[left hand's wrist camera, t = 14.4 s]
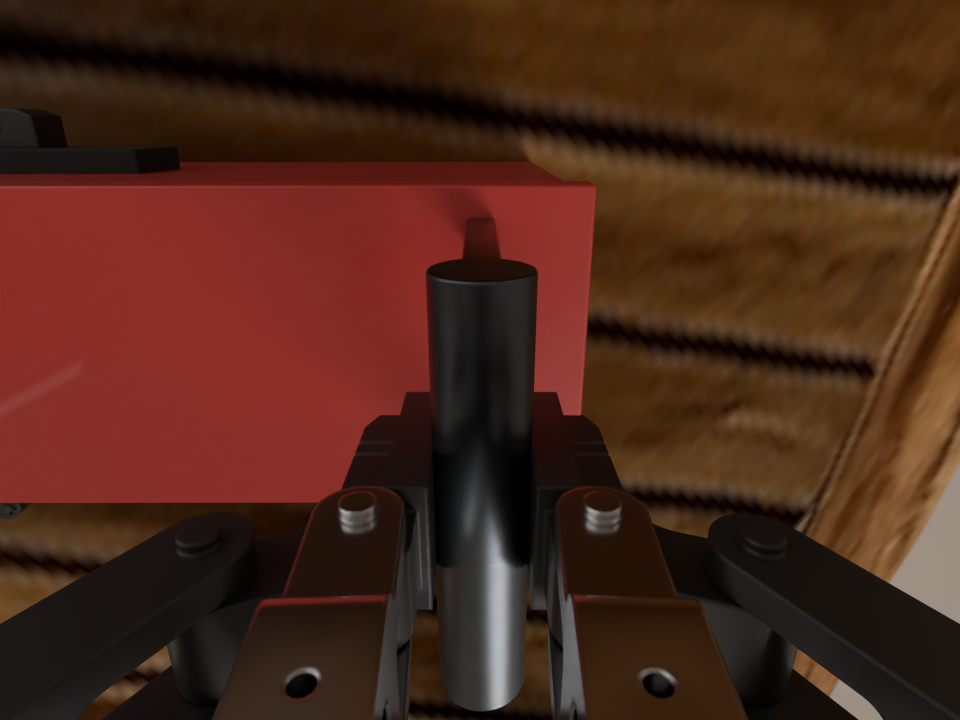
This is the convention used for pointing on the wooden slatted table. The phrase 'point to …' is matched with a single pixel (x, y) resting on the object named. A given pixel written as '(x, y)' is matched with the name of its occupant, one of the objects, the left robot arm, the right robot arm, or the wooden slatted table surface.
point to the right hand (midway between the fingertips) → (186, 304)
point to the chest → (317, 173)
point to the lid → (299, 358)
